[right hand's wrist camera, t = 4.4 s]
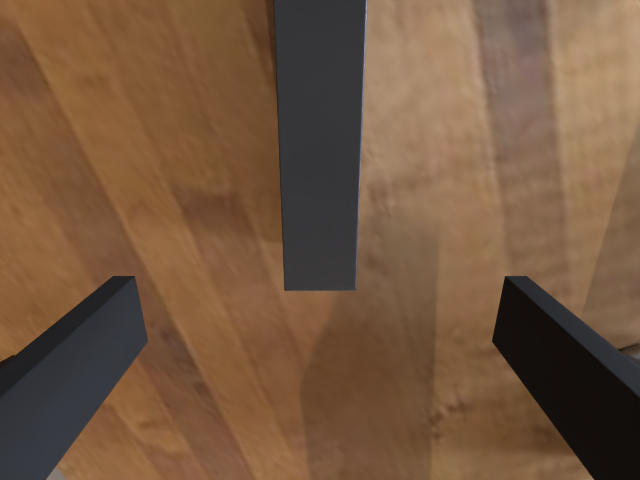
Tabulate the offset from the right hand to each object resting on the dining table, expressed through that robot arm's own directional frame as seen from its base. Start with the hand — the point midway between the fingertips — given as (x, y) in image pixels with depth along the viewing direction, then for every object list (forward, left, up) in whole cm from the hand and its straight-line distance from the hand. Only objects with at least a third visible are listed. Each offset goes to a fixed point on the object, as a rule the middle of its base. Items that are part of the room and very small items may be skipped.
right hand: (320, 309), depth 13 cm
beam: (0, -10, -17) cm, 19 cm away
